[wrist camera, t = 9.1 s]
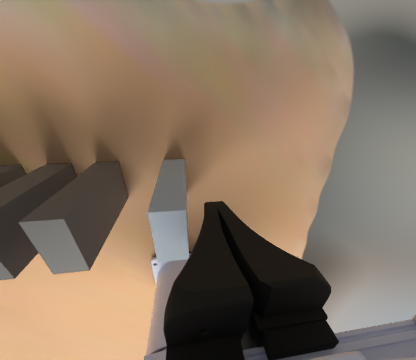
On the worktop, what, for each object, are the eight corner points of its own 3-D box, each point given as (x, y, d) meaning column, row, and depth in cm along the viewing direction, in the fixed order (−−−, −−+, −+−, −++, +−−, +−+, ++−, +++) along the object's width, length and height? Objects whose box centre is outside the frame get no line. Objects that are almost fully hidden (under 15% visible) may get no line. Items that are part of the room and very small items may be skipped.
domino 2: (119, 161, 15) (63, 219, 8) (128, 197, 17) (89, 270, 10) (94, 162, 15) (16, 222, 8) (106, 199, 17) (52, 274, 10)
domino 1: (71, 163, 15) (-31, 226, 8) (86, 200, 17) (14, 278, 10) (45, 163, 14) (-84, 230, 7) (63, 201, 16) (-27, 283, 9)
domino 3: (184, 158, 16) (185, 209, 9) (186, 193, 18) (189, 259, 11) (162, 159, 16) (146, 212, 9) (167, 195, 18) (156, 262, 10)
